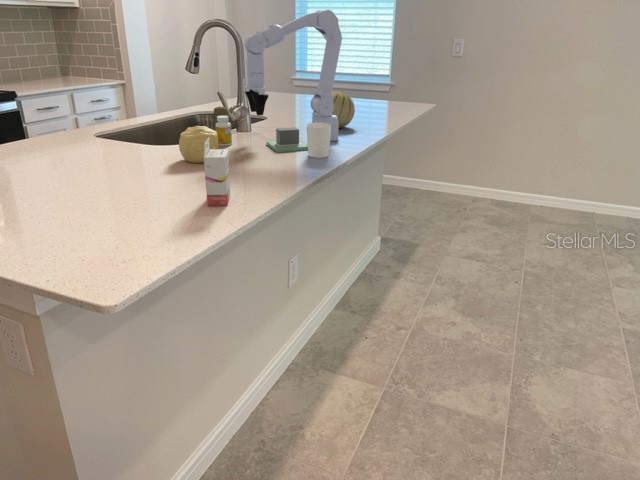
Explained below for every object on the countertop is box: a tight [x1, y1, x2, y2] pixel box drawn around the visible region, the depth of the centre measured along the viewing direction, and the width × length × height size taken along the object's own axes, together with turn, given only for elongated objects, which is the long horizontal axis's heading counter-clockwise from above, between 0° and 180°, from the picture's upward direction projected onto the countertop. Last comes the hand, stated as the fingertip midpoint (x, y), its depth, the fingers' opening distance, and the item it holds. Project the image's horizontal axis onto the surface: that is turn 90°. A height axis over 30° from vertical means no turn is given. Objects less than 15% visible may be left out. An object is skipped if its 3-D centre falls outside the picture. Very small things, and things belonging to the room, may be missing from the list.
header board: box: [266, 139, 308, 153], centre depth 172 cm, size 12×12×4 cm
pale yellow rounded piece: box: [178, 125, 219, 164], centre depth 152 cm, size 11×12×11 cm
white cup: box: [306, 122, 331, 159], centre depth 161 cm, size 8×8×10 cm
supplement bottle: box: [214, 115, 233, 147], centre depth 173 cm, size 5×5×10 cm
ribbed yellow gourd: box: [332, 89, 356, 129], centre depth 205 cm, size 15×15×15 cm
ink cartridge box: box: [203, 138, 231, 207], centre depth 117 cm, size 9×5×15 cm, turn 5°
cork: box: [213, 106, 229, 131], centre depth 185 cm, size 6×6×11 cm
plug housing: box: [275, 127, 300, 145], centre depth 172 cm, size 7×4×5 cm, turn 112°
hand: (257, 113), depth 175 cm, fingers open, 7 cm apart
